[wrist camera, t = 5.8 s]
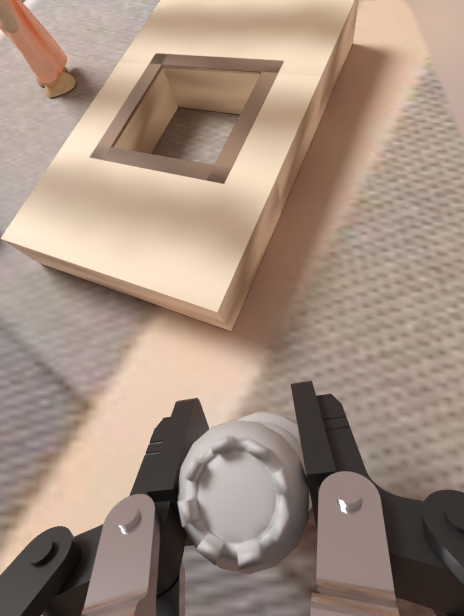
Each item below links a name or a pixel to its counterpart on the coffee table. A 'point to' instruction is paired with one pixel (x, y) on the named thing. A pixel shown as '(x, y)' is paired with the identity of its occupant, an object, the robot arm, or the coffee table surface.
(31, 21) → the grandmother figurine
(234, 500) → the rook chess piece
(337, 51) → the socket board
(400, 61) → the coffee table surface
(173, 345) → the coffee table surface
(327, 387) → the coffee table surface
